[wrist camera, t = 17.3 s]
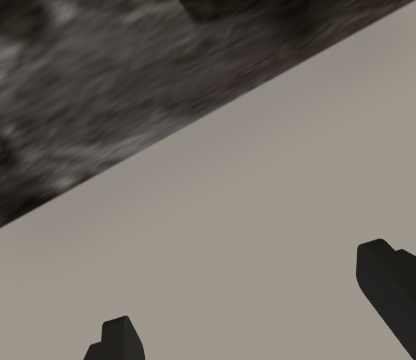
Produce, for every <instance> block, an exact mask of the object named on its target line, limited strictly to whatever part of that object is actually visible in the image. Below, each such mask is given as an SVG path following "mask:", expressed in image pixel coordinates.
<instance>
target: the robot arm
mask: <svg viewBox="0 0 416 360" xmlns="http://www.w3.org/2000/svg"><path fill="white" fill-rule="evenodd" d="M356 278H357V281H358V284H359V286H360V288H361V290H362V292H363V293H364V295H365V296H366V297H367V299H368V300H369V301H370V303H371V304H372V305H373V307H374V308H375V309H376V310H377V312H378V313H379V315H380V316H381V317H382V319H383V320H384V321H385V323H386V324H387V325H388V327H389V328H390V329H391V330H392V332H393V333H394V335H395V336H396V337H397V338H398V340H399V341H400V343H401V344H402V345H403V347H404V348H405V349H406V350H407V352H408V353H409V354H410V356H411V357H412V358H413V360H416V256H414V255H412V254H411V253H408V252H407V251H405V250H403V249H400V250H397V251H395V250H394V249H393V248H392V247H391V246H390V245H389V244H388V243H387V242H386V241H385V240H383V239H376V240H373V241H370V242H366V243H363V244H360V245H359V246H358V249H357V266H356ZM101 339H102V340H101V342H98V343H95V344H92V345H90V347H89V349H88V351H87V353H86V355H85V357H84V360H145V354H144V349H143V346H142V343H141V341H140V339H139V336H138V335H137V333H136V331H135V329H134V327H133V325H132V323H131V321H130V319H129V317H128V316H123V317H119V318H116V319H113V320H110V321H106V322H104V323H103V326H102V337H101Z"/></svg>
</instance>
